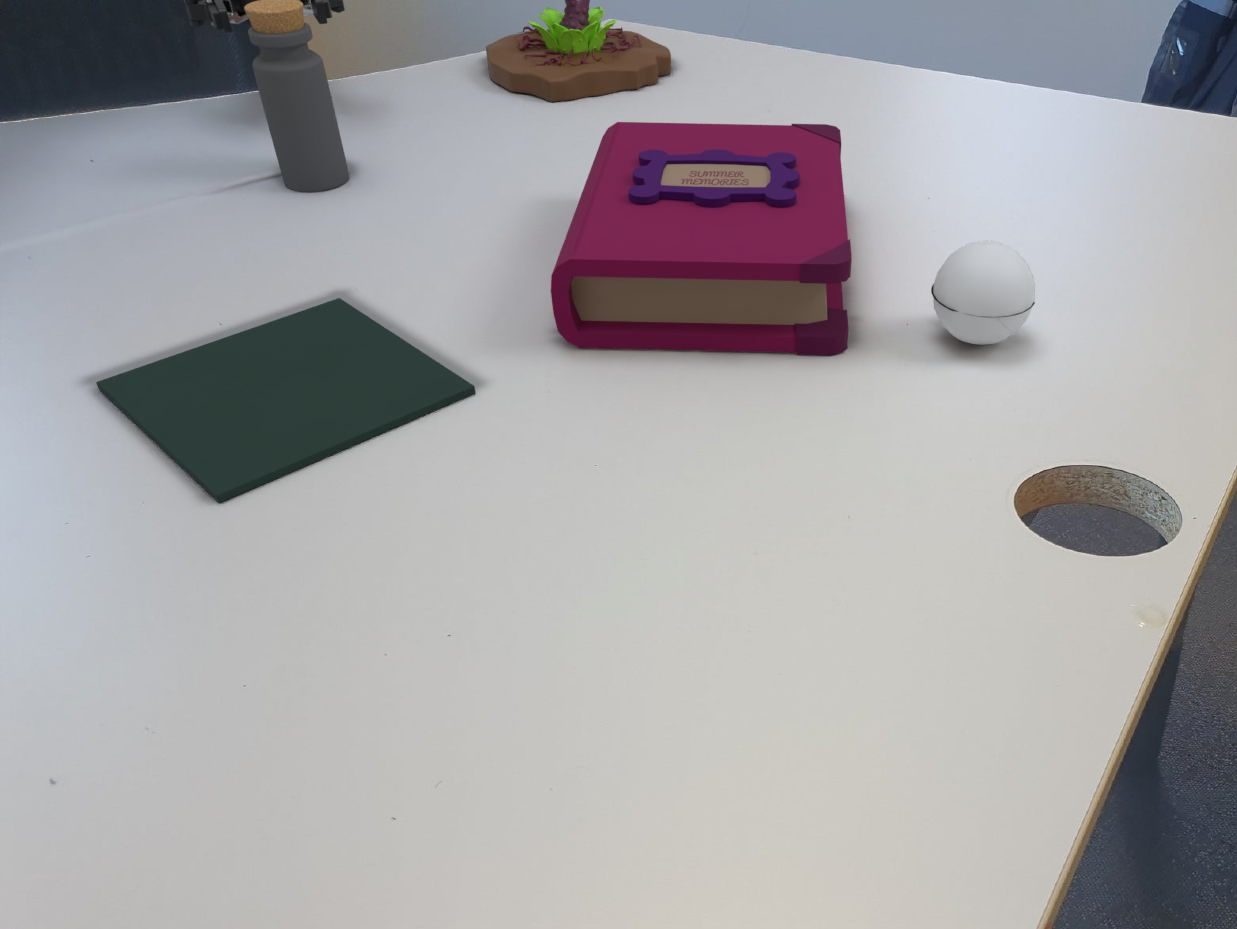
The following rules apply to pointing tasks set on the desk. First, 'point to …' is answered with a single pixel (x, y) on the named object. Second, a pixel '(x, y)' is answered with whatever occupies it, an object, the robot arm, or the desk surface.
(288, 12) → the bottle
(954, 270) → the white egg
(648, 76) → the plant
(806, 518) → the desk surface
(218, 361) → the mat
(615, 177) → the book
